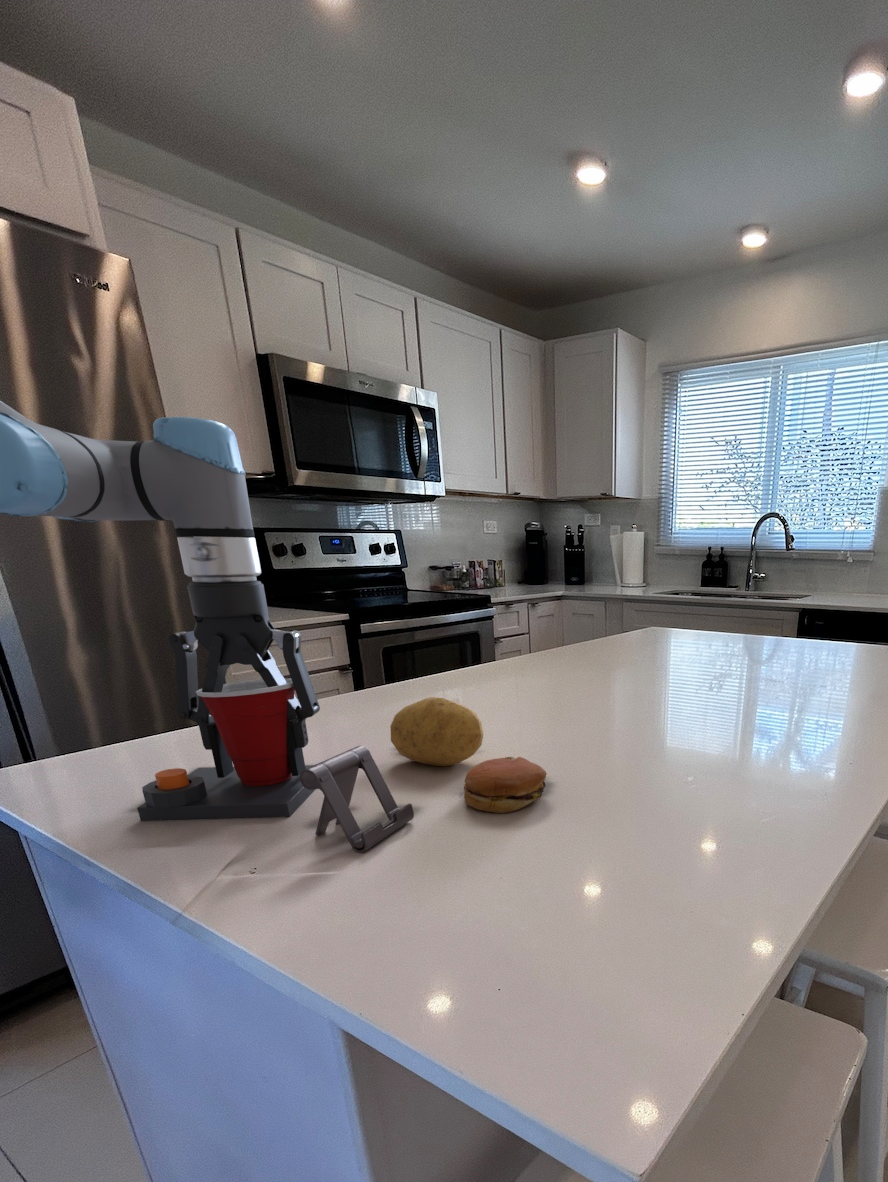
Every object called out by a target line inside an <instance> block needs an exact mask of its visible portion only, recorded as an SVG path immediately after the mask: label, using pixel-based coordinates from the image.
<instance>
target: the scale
mask: <svg viewBox="0 0 888 1182" xmlns="http://www.w3.org/2000/svg"><path fill="white" fill-rule="evenodd" d="M314 765H315V764H312V765H310V764H308V765H305V768H306V769H307V768H309V767H311V766H314ZM233 769H234V771H233V772H231V773H230V774H229V775H227V776H226V777H224V778H218V777H217V772H216V768H215V766H214V767H211V766H210V767H198V768H196V769H195V770H193V771H191V772H189V773H187V776H188V780H189V785H187V786H184V787H180V788H175V789H166V790H160V789H158V785H157V781H156V780H153V781H150V782H148V783H147V784H146V785H143V786H142V787H141V788H142V789H141V790H142V794H143V798H144V803H142V804H140V805H139V806H137V808H136V809H137V812H138V816H139V821H140V822H164V821H166V822H167V821H197V820H200V821H201V820H203V821H204V820H235V819H238V820H239V819H274V818H290V817H292V816H293V814H294V813H295V812H296V811H297V810H298V809H299V808H300V807H301V805H303V804H304V803H305V801H306V800H307V799H308V798H309V797H310V795H312V794H313V793H314V791H316V789H314V790H308V789H306V788H305V787H304V786H303V785H302V783H301V781H300V775H299V776H292V775H291V778H289V779H288V780H286V781H283V782H280V783H276V784H272V785H264V786H249V785H244V784H243V783H242V782H241V780H240V778H238V775H237V773H236V770H235V768H234V766H233Z"/></svg>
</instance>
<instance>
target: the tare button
mask: <svg viewBox="0 0 888 1182" xmlns="http://www.w3.org/2000/svg"><path fill="white" fill-rule="evenodd" d="M187 775H188V772H187V769H186V768H182V767H181V768H179V767H178V768H177V767H176V768H168V769H164V770H160V771H157V772H155V774H154V777H155V781H157V785H158V789H160V790H166V789H175V788H180V787H184V786H187V785H189V780H188V776H187Z"/></svg>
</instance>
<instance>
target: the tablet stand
mask: <svg viewBox="0 0 888 1182" xmlns="http://www.w3.org/2000/svg"><path fill="white" fill-rule="evenodd" d="M313 765H314V766H311V767H309V768H307V769H304V770H303V771H301V773H300V781H301V783H302V785H303V786H304V787H305V788H306V789H308V790H314V789H315V790H320V792H321V793H322V794H323V796H324V797H323V801H322V804H321V809H320V813H319V817H318V822H317V826H316V830H315V833H314V834H315V835H316V837H319V836H321V835H323V834H324V833H326V831H327V828H328V825H329V824H330V822H332V821H334V820H335V825H336V826H340V828H341V830H342V832H343V833H344V835H345V838H346V839H347V841H348V843H349V845H350V847H351V848H352V850H353V851H355V852H356V853H360V854H363V853H364V852H366V851H368V850H370V849H372V847H374V846H375V845H377V844H378V843H380V842H381V841H382V840H384V839H386V838H387V837H388V836H389V835H391V834H393V833H394V832H395V831H397V830H399V829H400V828H402V827H404V826H406V825H407V824H408V823H410V822H411V821H412V820H413V819H414V817H415V812H414V808H413V804H412V803H407V804H406V805H404V806H403V807H401V808H400V807H398V805H397V802H396V800H395V799H394V797H393V795H392V793H391V791H390V789H389V787H388V784H387V783H386V781H385V778H384V777H383V775H382V773H381V771H380V769H379V767H378V765H377V763H376V761H375V759H374V757H373V755H372V754H371V752H370V749H369V748H368V747H366V746H365V745H357V746H355V747H353V748H350V749H348V750H346V751H343V752H341V753H339V754H337V755H333V756H332V757H330V758H327V759H325V760H323V761H321V762H318V763H316V764H313ZM359 769H361V770H363V772H364V773H365V776H366V777H367V779H368V781H369V783H370V786H371V787H372V789H373V791H374V793H375V795H376V797H377V800H378V801H379V803H380V806H381V807H382V808H383V811H384V813H385V814H386V817H387V818H388V821H386V822H384V823H383V822H378V823H376V824H375V825H373V826H371V827H370V828H367V829H366V830H364V831H363V830H361V828H360V826H359V825H358V822H357V820H356V818H355V817H354V815H353V812H352V811H351V809H350V805H351V800H352V798H353V797H352V796H353V794H354V789H355V785H356V780H357V777H358V774H359ZM315 790H314V791H315Z"/></svg>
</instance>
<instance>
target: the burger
mask: <svg viewBox="0 0 888 1182" xmlns="http://www.w3.org/2000/svg"><path fill="white" fill-rule="evenodd" d="M547 775H548V773H547V771H546V770H545V769H544V768H543V767H542V766H540V765H539V764H537V763H535V762H531V761H530V760H528V759H526V758H524V757H522V756H517V757H515V756H505V757H499V758H497V757H496V758H492V759H487V760H484V761H482V762H480V763H477V764H476V765H474V766H472V767H471V768H469V771H468V772H466V775H465V777H464V783H463V784H464V785H463V790H464V791H463V792H464V795H463V796H464V797H463V798H464V802H465V804H467V805H468V806H469V807H471V808H474V809H476V810H479V811H483V812H490V813H491V812H492V813H495V814H497V813H498V814H506V813H510V812H511V813H512V812H515V811H518V810H521V809H523V808H524V807H526V806H528V805H530V804H531V803H534V802H535V801H537V800H539V799H540V798H541V797H542V795H543V792H545V791H544V789H545V788H546V786H547V784H546V781H545V780H546V777H547Z"/></svg>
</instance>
